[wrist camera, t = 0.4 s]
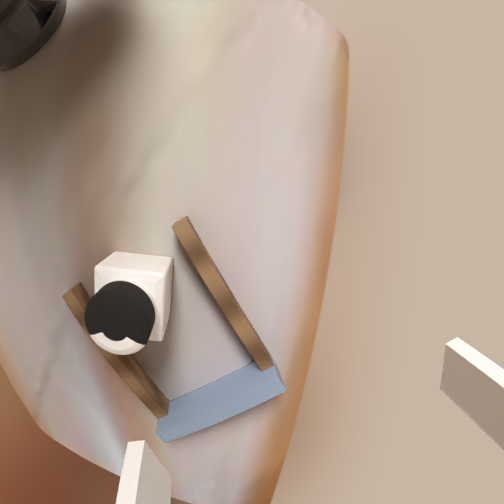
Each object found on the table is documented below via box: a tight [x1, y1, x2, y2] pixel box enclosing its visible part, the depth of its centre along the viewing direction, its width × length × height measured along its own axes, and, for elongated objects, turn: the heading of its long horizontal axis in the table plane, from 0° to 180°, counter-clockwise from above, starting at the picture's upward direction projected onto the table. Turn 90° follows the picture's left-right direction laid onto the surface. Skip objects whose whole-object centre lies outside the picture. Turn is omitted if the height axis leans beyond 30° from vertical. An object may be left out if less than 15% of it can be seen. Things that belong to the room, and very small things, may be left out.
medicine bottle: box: [84, 251, 173, 355], centre depth 29 cm, size 7×7×12 cm
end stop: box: [156, 355, 287, 443], centre depth 36 cm, size 2×17×6 cm, turn 118°
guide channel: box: [62, 216, 274, 419], centre depth 34 cm, size 20×17×3 cm
